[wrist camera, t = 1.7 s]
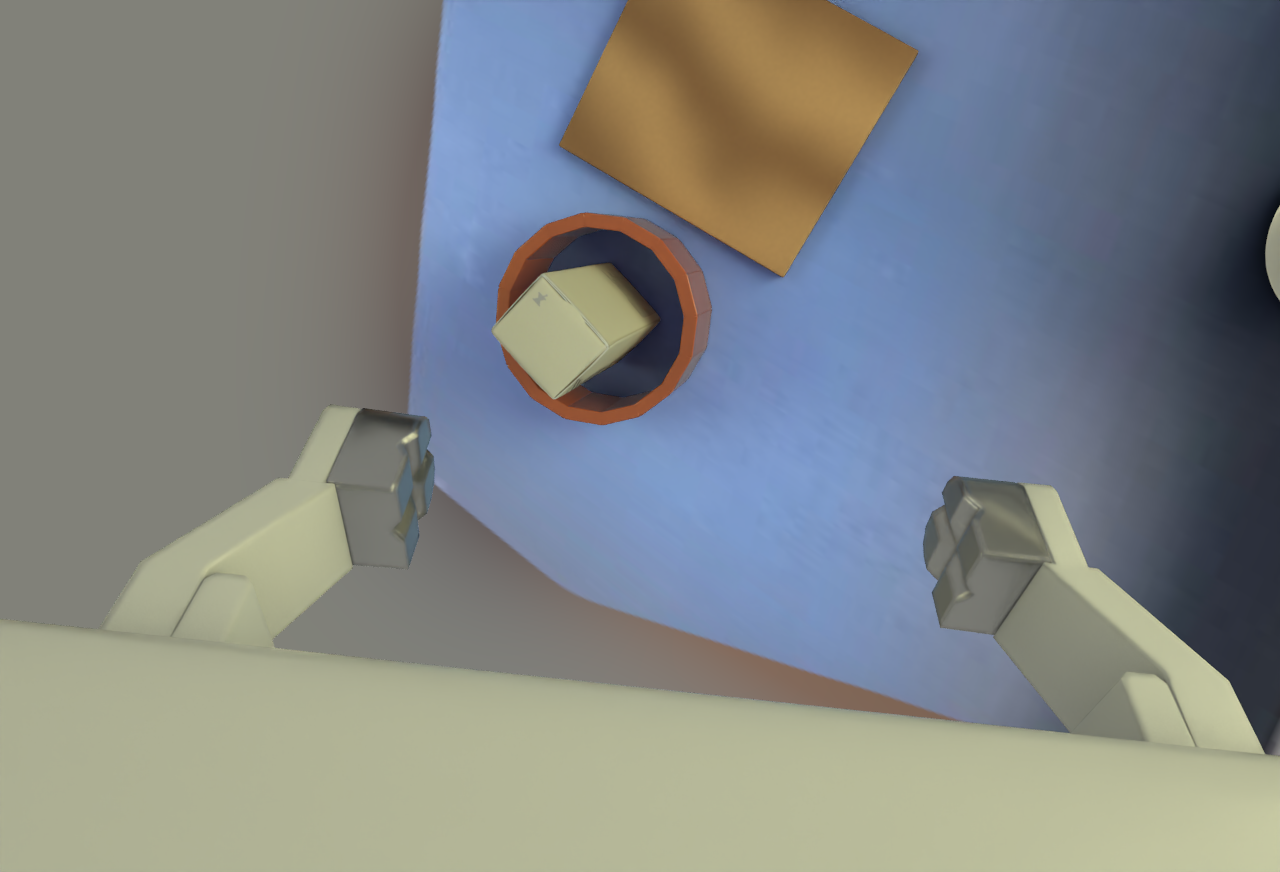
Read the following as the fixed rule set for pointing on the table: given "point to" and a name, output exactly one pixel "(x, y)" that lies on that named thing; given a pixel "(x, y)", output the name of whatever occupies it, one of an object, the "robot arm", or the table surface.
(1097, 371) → the table surface
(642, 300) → the box
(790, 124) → the brown flat wooden board
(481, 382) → the table surface
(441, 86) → the table surface
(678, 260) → the orange hollow cylinder
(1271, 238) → the teacup
